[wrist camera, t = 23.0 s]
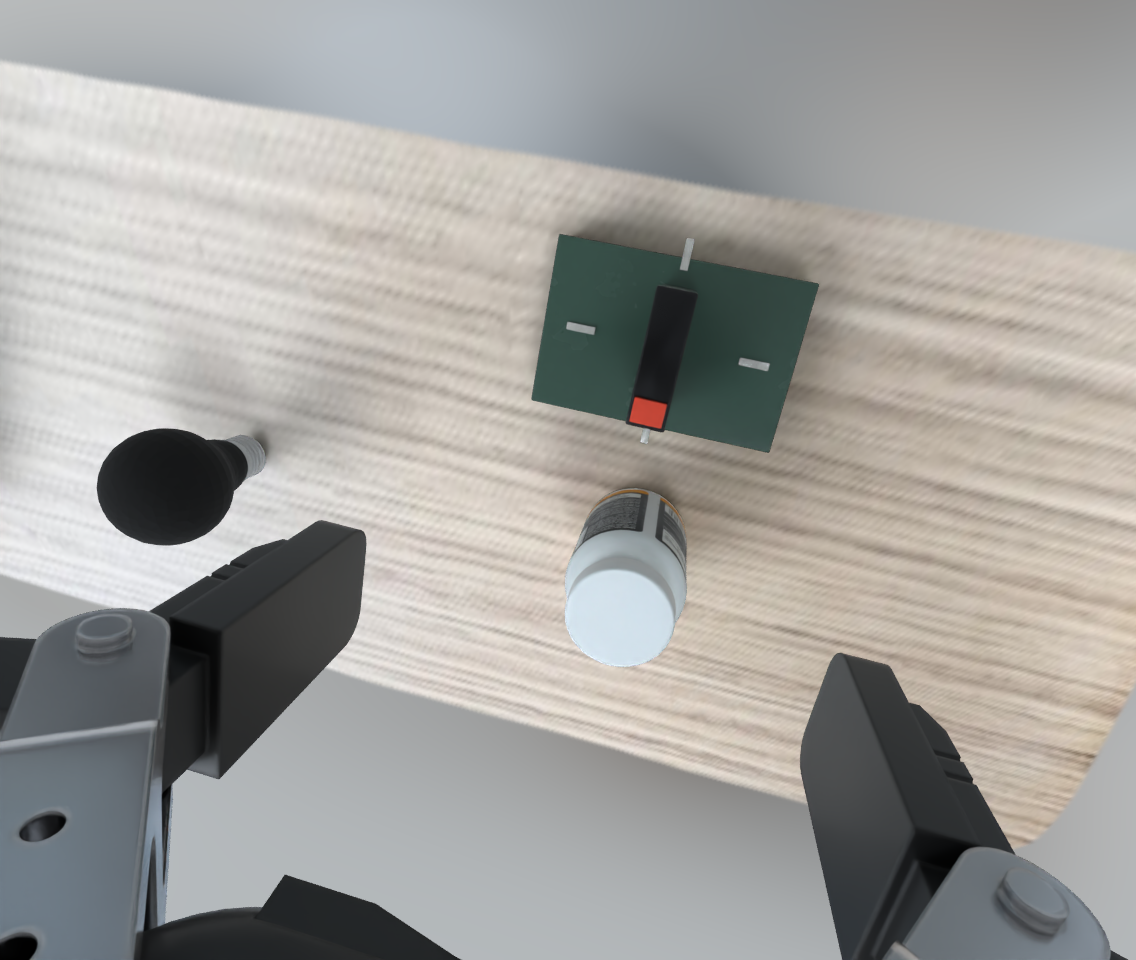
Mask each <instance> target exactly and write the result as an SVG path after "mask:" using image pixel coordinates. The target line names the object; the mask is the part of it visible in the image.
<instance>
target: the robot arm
mask: <svg viewBox="0 0 1136 960" xmlns="http://www.w3.org/2000/svg"><path fill="white" fill-rule="evenodd" d="M365 554H366V536H365V533H364V532H363V531H362V530H358V529H355V528H351V527H347V526H343V525H339V524H335V523H331V522H327V521H323V520H320V521H317V522H315V523H314V524H312V525H311V526H309V527H307V528H306V529H304V530H303V531H301V532H300V533H298V534H297V535H295V536H293V537H292V538H290V539H289V540H284V539H282V540H279V541H275V542H272V543H268V544H265V545H261V546H258V547H254V548H252V549H250V550H249V551H247V552H245V553H244V554H242V555H241V556H239V557H237V558H236V559H234V560H232V561H231V562H230V565H227V564H226V565H224V566H223V567H221V568H219V569H218V570H216V571H214V572H213V573H212V575H211V577H210V576H206V577H204V578H203V579H201V580H200V581H198V582H196V583H195V584H193V585H191V586H190V587H188V588H186V589H185V590H183V591H182V592H180V593H178V594H177V595H175V596H173V597H172V598H170V599H168V600H167V601H165V602H164V603H162V604H160V605H159V606H157V607H155V608H154V609H152V610H150V611H149V612H148V611H144V610H138V609H127V608H118V609H105V610H98V611H92V612H88V613H84V614H80V615H77V616H74V617H71V618H68V619H66V620H63V621H61V622H59V623H57V624H55V625H54V626H52V627H50V628H49V629H47V630H46V631H45V632H43V633H42V635H41V636H39V638H38V639H22V638H5V637H0V960H460V959H459V958H457V957H455V956H454V955H452V954H451V953H449V952H448V951H446V950H444V949H443V948H441V947H440V946H438V945H437V944H435V943H434V942H432V941H431V940H429V939H428V938H426V937H425V936H423V935H422V934H420V933H419V932H417V931H416V930H414V929H413V928H411V927H410V926H408V925H407V924H405V923H404V922H402V921H401V920H399V919H398V918H396V917H395V916H393V915H392V914H390V913H389V912H387V911H386V910H384V909H383V908H381V907H380V906H378V905H377V904H375V903H372V902H368V901H365V900H362V899H359V898H356V897H353V896H350V895H347V894H344V893H341V892H337V891H334V890H331V889H328V888H325V887H322V886H319V885H316V884H313V883H309V882H306V881H303V880H300V879H296V878H294V877H291V876H288V875H284V877H283V878H282V880H281V881H280V883H279V884H278V885H277V887H276V888H275V890H274V891H273V893H272V894H271V896H270V897H269V899H268V900H267V902H266V903H265V904H264V906H263V907H262V908H261V907H245V908H233V909H222V910H217V911H211V912H206V913H200V914H196V915H192V916H189V917H185V918H182V919H178V920H175V921H171V922H168V923H166V924H165V913H166V912H165V911H166V897H167V881H168V865H169V848H170V832H171V818H172V802H173V801H172V800H173V794H172V789H173V788H172V783H173V782H174V781H175V780H177V779H178V777H180V776H181V775H182V774H183V773H184V772H185V771H186V770H191V771H193V772H197V773H200V774H203V775H207V776H210V777H213V778H216V779H220V778H221V777H222V776H223V775H224V773H226V772H227V770H228V769H229V768H230V767H231V766H232V765H233V764H234V763H235V762H236V761H237V760H238V759H239V758H240V757H241V756H242V755H243V754H244V753H245V752H246V750H247V749H248V748H249V747H250V746H251V745H252V744H253V743H254V742H255V741H256V740H257V739H258V738H259V737H260V736H261V735H262V734H263V733H264V731H265V730H266V729H267V728H268V727H269V726H270V725H271V724H272V723H273V722H274V721H275V720H276V719H277V718H278V717H279V716H280V714H282V712H283V711H284V710H285V709H286V708H287V707H288V706H289V705H290V704H291V703H292V702H293V701H294V700H295V699H296V698H297V697H298V696H299V694H300V693H301V692H302V691H303V690H304V689H305V688H306V687H307V686H308V685H309V684H310V683H311V682H312V681H313V679H315V678H316V677H317V675H318V674H319V673H320V672H321V671H322V670H323V669H324V668H325V667H326V666H327V665H328V664H329V663H330V662H331V661H332V660H333V659H334V657H335V656H336V655H337V654H338V653H339V652H340V651H341V650H342V649H343V648H344V647H345V646H346V645H347V643H348V642H349V640H350V638H351V637H352V635H353V633H354V630H355V628H356V625H357V622H358V619H359V614H360V608H361V597H362V586H363V576H364V565H365ZM800 769H801V775H802V780H803V784H804V789H805V793H806V798H807V802H808V807H809V811H810V816H811V820H812V825H813V829H814V834H815V838H816V843H817V848H818V852H819V856H820V861H821V865H822V870H823V874H824V879H825V883H826V888H827V893H828V897H829V901H830V906H831V910H832V915H833V920H834V924H835V929H836V933H837V938H838V942H839V947H840V951H841V955H842V960H1128V959H1126V958H1124V957H1122V956H1120V955H1118V954H1117V953H1115V952H1113V951H1111V950H1110V946H1109V941H1108V939H1107V936H1106V934H1105V931H1104V930H1103V928H1102V926H1101V925H1100V923H1099V921H1098V920H1097V919H1096V917H1095V916H1094V915H1093V913H1091V911H1090V910H1089V908H1088V907H1087V906H1086V905H1085V904H1084V903H1083V902H1082V901H1081V900H1080V899H1079V898H1078V897H1077V896H1076V895H1075V894H1074V893H1073V892H1071V890H1070V889H1068V888H1067V887H1066V886H1065V885H1064V884H1062V883H1061V882H1060V881H1059V880H1058V879H1056V878H1055V877H1053V876H1052V875H1050V874H1049V873H1048V872H1046V871H1045V870H1043V869H1041V868H1039V867H1038V866H1036V865H1035V864H1033V863H1031V862H1029V861H1027V860H1025V859H1023V858H1021V857H1019V856H1016V855H1015V853H1014V851H1013V849H1012V848H1011V846H1010V844H1009V842H1008V840H1007V839H1006V837H1005V835H1004V833H1003V832H1002V830H1001V828H1000V826H999V824H998V823H997V821H996V819H995V817H994V816H993V814H992V812H991V810H990V808H989V807H988V805H987V803H986V801H985V800H984V798H983V796H982V794H981V793H980V791H979V789H978V787H977V785H974V784H973V783H972V781H973V778H972V777H971V775H970V773H969V771H968V769H967V768H966V766H965V764H964V762H960V755H959V753H958V752H957V750H956V748H955V746H954V745H953V743H952V741H951V739H950V737H949V736H948V734H947V732H946V731H945V730H944V729H943V728H942V727H941V726H940V725H939V724H938V723H937V722H936V721H935V720H934V719H933V718H932V717H931V716H930V715H929V714H928V713H927V712H926V711H925V710H924V709H923V708H922V707H921V706H920V705H916V704H912V703H909V702H908V700H907V698H906V696H905V694H904V692H903V691H902V689H901V687H900V685H899V683H898V681H897V679H896V677H895V675H894V673H893V671H892V669H891V668H890V667H889V666H888V665H886V664H882V663H878V662H874V661H870V660H867V659H863V658H859V657H855V656H851V655H847V654H843V653H837V654H836V655H835V656H834V657H833V659H832V660H831V662H830V664H829V667H828V669H827V672H826V675H825V677H824V680H823V683H822V686H821V688H820V691H819V694H818V697H817V699H816V702H815V705H814V707H813V710H812V713H811V716H810V718H809V721H808V724H807V727H806V729H805V732H804V736H803V740H802V746H801V754H800Z"/></svg>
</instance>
